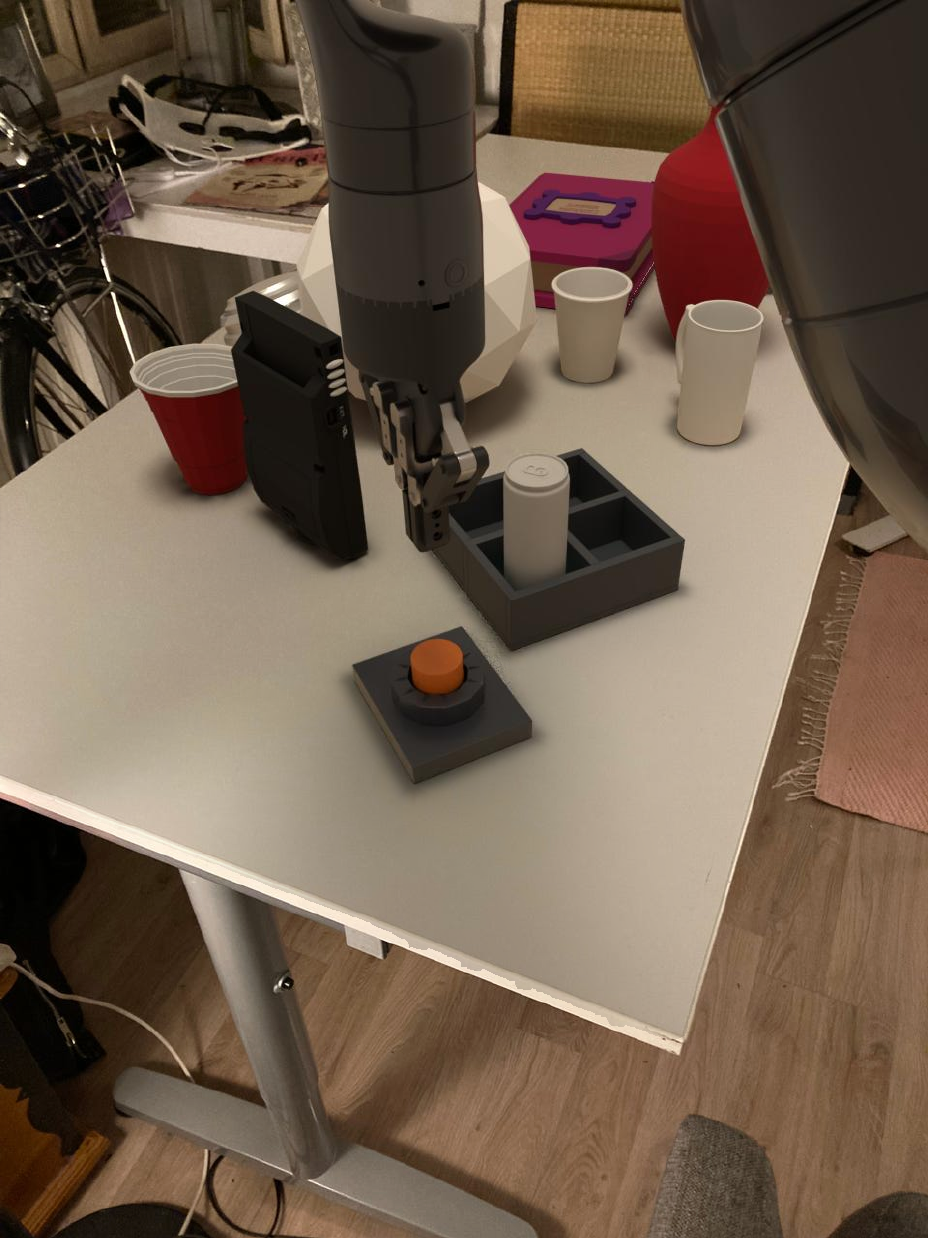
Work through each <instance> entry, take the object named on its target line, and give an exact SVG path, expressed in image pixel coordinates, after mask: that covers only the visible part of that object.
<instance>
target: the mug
mask: <svg viewBox="0 0 928 1238" xmlns="http://www.w3.org/2000/svg"><path fill="white" fill-rule="evenodd" d="M763 322H764V315H763V313H762V312H761V310H759V308H758V309H757V308H755V307H753V306H751V305H748V304H745V303H742V302H737V301H730V300H712V301H705V302H702V303H699V304H697V305H693V304H691V305H687V306H686V311H685V313H684V315H683V317H682V320H681V322H680V325H679V328H678V332H677V338H676V343H675V364H676V365H675V366H676V379H677V383H678V384H679V385H680V390H679V399H678V410H677V420H676V421H677V422H676V428H677V431H678V433H679V434H680V435H681V436H682V438H684V439H685V440H688V441H690V442H692V443H696V444H699V445H705V446H721V445H726V444H729V443H731V442H733V441H735V440H736V439H737V438H739V436H740V434H741V431H742V426H743V422H744V418H745V413H746V410H747V409H746V408H747V405H748V404H747V403H748V399H749V395H750V390H751V389H750V388H751V384H752V378H753V373H754V368H755V364H756V359H757V356H758V355H757V354H758V350H759V346H760V345H759V344H760V339H761V334H762V327H763Z"/></svg>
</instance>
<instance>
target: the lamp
mask: <svg viewBox="0 0 928 1238" xmlns="http://www.w3.org/2000/svg"><path fill="white" fill-rule="evenodd" d="M478 186H479V193H480V199H481V206H482V214H483V245H484V294H485V346H484V349H483V352H482V354H481V355H480V357H479V358H478V359H477V360H476V361H475V362H474V363H473V364H472V365H471V366H470V367H469V368H468V369H467V370H466V371H465V372H464V374H463V375H462V377H461V379H460V384H461V388H462V391H463V393H464V397H465V404H467V403H470V402H471V401H472V400H475V399H477V398H478V397H480V396H482V395H484V394H486V393H488V392H490V391H491V390H494V389H495V388H497V387H499V386H500V385H501V383H502V382H503V380H504V378H505V376H506V375H507V373H508V372H509V370H510V368H511V366H512V365H513V363H514V361H515V359H516V358H517V356H518V354H519V353H520V351H521V349H523V346H524V344H525V343H526V341H527V339H528V337H529V335H530V334H531V332H532V331H533V328H534V327H535V325H536V324H537V322H538V317H537V309H536V307H537V306H535V297H534V288H533V279H532V269H531V260H530V251H529V246H528V244H527V241H526V239H525V237H524V235H523V233H522V231H521V229H520V227H519V225H518V223H517V221H516V219H515V217H514V215H513V213H512V211H511V209H510V207H509V205H510V204H509V203H508V200H507V199H506V197H505V196H504V195H502V194H500V193H499V192H497V191H495V190H493V189H491V188H490V187H488V186H487V185H485V184H483V183H482V182H480V181H478ZM328 207H329V202H327V203H326V205H324V206H323V207H322V208H321V209H320V211H319V214H318V216H317V218H316V221H315V222H314V225H313V226H312V229H311V231H310V233H309V235H308V237H307V239H306V241H305V242H306V243H305V244H304V246H303V249H302V251H301V252H300V255H299V257H298V259H297V261H296V264H295V266H296V270H293V271H290V272H285V273H281V274H277V275H274V276H272V277H269V278H266V279H264V280H261V281H259V282H257V283H255V284H253V285H251V286H248V287H247V288H245V289H243V290H242V291H240V292H239V293H237V294H235V295H233V296H232V297H230V298H229V299H227V301H226V307H225V309H224V313H223V314H222V315H220V318H219V319H220V321H219V322H220V324H219V325H220V327H223V328H224V329H225V331H226V333H225V334H224V335H223V340H224V341H223V342H224V345H225V346H231V347H233V346H234V344H235V343H236V341H237V340H238V338H239V337H240V335H241V334H242V333H241V328H240V323H239V318H238V313H237V308H236V303H235V298H234V297H237V296H240V295H243V294H245V293H248V292H251V291H255V292H258V293H260V294H262V295H264V296H266V297H268V298H270V299H272V300H274V301H276V302H278V303H280V304H282V305H284V306H286V307H287V308H289V309H291V310H293V311H295V312H297V313H299V314H301V315H303V316H305V317H307V318H308V319H310V320H312V321H314V322H316V323H318V324H320V325H322V326H324V327H326V328H328V329H329V330H331V331H333V332H334V333H336V334H337V335H339V336H341V340H342V332H341V323H340V315H339V307H338V299H337V291H336V283H335V274H334V266H333V258H332V250H331V241H330V233H329V218H328ZM342 348H343V340H342ZM343 356H344V364H345V372H346V379H347V387H348V392H349V393H350V394H351V395H353V397H354V398H356V399H359V400H362V401H366V398H365V394H364V391H363V388H362V385H361V383H360V381H359V370H358V369H356V368H355V367H354V366H353V365H352V364H351V363H350V362H349V361H348V359H347V357H346V355H345V353H344V348H343ZM366 402H367V401H366Z"/></svg>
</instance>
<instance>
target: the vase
mask: <svg viewBox="0 0 928 1238" xmlns="http://www.w3.org/2000/svg"><path fill="white" fill-rule="evenodd" d="M710 108H711V109H710V114H709V116H708V119H707V121H706V123H705V125H704V127H703V128H702V129H701V130H700V131H699V133H698V134H696V135H695V136H694V137H692V138H691V139H689V140H688V141H687V142H685V143H683V144H681V145H680V146H679V147H677V148H675V149H673V150H672V151H671V152H670V153H668V155H666V157H665V158H664V159H663V161H661V163H660V164H659V166H658V170H657V172H656V175H655V178H654V181H655V182H654V189H653V196H652V214H651V226H652V247H653V259H654V266H655V268H654V273H655V279H656V284H657V288H658V292H659V296H660V301H661V304H662V307H663V311H664V314H665V315H664V316H665V318H666V321H667V324H668V327H669V330H670V333H671V336H672V340H673V342H674V344H676V338H677V332H678V328H679V325H680V322H681V320H682V317H683V315H684V313H685V311H686V306H687V305H691V304H693V305H697V304H699V303H702V302H705V301H712V300H730V301H737V302H742V303H745V304H748V305H751V306H753V307H755V308H757V309H758V310H759V307H760V305H761V304H762V302H763V300H764V299H765V296H766V294H767V292H768V291H769V288H770V284H769V281H768V278H767V275H766V272H765V269H764V266H763V263H762V260H761V257H760V254H759V251H758V248H757V245H756V242H755V239H754V236H753V234H752V231H751V228H750V225H749V222H748V219H747V216H746V213H745V210H744V207H743V204H742V201H741V198H740V195H739V192H738V189H737V186H736V183H735V180H734V177H733V174H732V171H731V168H730V165H729V162H728V159H727V156H726V153H725V150H724V147H723V144H722V141H721V138H720V135H719V132H718V129H717V126H716V124H715V121H714V120H715V117H716V115H717V113H718V112H719V111H720V110H721V109H717V108H713V107H710Z"/></svg>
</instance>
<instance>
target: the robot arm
mask: <svg viewBox="0 0 928 1238" xmlns="http://www.w3.org/2000/svg"><path fill="white" fill-rule="evenodd" d="M294 3H295V6H296V9H297V13H298V16H299V20H300V22H301V25H302V26H301V27H302V29H303V32H304V36H305V38H306V40H305V41H306V42H307V43H306V44H307V47H308V51H309V55H310V59H311V63H312V64H311V65H312V69H313V73H314V77H315V78H314V79H315V85H316V92H317V99H318V104H319V105H318V106H319V111H320V114H319V115H320V121H321V129H322V137H323V147H324V156H325V164H326V171H327V183H328V203H329V207H328V218H329V233H330V241H331V250H332V258H333V266H334V274H335V283H336V291H337V299H338V307H339V315H340V323H341V332H342V340H343V348H344V353H345V355H346V357H347V359H348V361H349V362H350V363H351V364H352V365H353V366H354V367H355V368H356V369H358V370H359V381H360V383H361V385H362V388H363V391H364V394H365V398H366V404H367V407H368V411H369V414H370V417H371V420H372V423H373V427H374V430H375V434H376V436H377V439H378V443H379V447H380V450H381V453H382V458H383V460H384V462H385V463H386V465H387V466H393V468H394V481H395V483H396V484H397V486H398V488H399V489H400V490H401V494H402V503H403V513H404V516H403V517H404V525H405V535H406V536H407V538H408V539H409V541H410V542H411V543H412V544H413V545H414V547H415V549H417V551H418V552H419V553H426V552H429V551H433V549H436V548H439V547H442V546H445V545H446V544H447V543H448V542H449V540H450V527H449V508H448V506H449V505H452V504H456V503H462V502H465V501H467V499H468V498H469V496H470V495H471V493H472V492H473V490H474V489H475V487H476V486H477V484H478V483H479V481H480V480H481V478H484V475H485V473H486V472H487V470H488V469H489V467H490V464H491V463H490V462H491V461H490V456H489V452H488V450H487V449H486V447H485V446H484V445H480V446H479V445H478V446H476V447H474V446H470V445H469V442H468V439H467V438H466V435H465V432H464V430H463V428H462V427H463V425H464V422H465V421H466V417H467V406H466V403H465V397H464V393H463V391H462V388H461V384H460V379H461V377H462V375H463V374H464V372H465V371H466V370H467V369H468V368H469V367H470V366H471V365H472V364H473V363H474V362H475V361H476V360H477V359H478V358H479V357H480V355H481V354H482V352H483V349H484V346H485V294H484V245H483V214H482V206H481V199H480V193H479V186H478V182H479V179H478V169H477V134H476V133H477V129H476V127H477V125H476V77H475V63H474V55H473V50H472V47H471V44H470V41H469V39H468V37H467V36H466V35H465V33H464V32H463V31H462V30H461V29H460V28H458V27H456V26H455V25H453V24H452V23H449V22H445V21H442V20H439V19H436V18H431V17H427V16H421V15H416V14H410V13H405V12H402V11H401V12H400V11H396V10H393V9H389V8H386V7H384V6H381V5H379V4H375V3H374V2H372V1H371V0H294ZM679 6H680V12H681V17H682V22H683V27H684V31H685V33H686V38H687V40H688V45H689V48H690V51H691V54H692V57H693V61H694V64H695V68H696V71H697V74H698V77H699V80H700V83H701V86H702V89H703V92H704V96H705V99H706V102H707V105H708V106H709V107H710V108H712V107H713V108H717V109H721V110H720V111H719V112H718V113H717V115H716V117H715V120H714V121H715V124H716V126H717V129H718V132H719V135H720V138H721V141H722V144H723V147H724V150H725V153H726V156H727V159H728V162H729V165H730V168H731V171H732V174H733V177H734V180H735V183H736V186H737V189H738V192H739V195H740V198H741V201H742V204H743V207H744V210H745V213H746V216H747V219H748V222H749V225H750V228H751V231H752V234H753V236H754V239H755V242H756V245H757V248H758V251H759V254H760V257H761V260H762V263H763V266H764V269H765V272H766V275H767V278H768V281H769V284H770V286H769V288H770V290H771V292H772V296H773V299H774V302H775V305H776V307H777V311H778V313H779V315H780V317H781V324H782V327H783V330H784V332H785V334H786V339H787V340H788V343H789V346H790V349H791V352H792V355H793V357H794V360H795V362H796V365H797V367H798V369H799V371H800V374H801V376H802V378H803V381H804V383H805V386H806V388H807V390H808V393H809V395H810V398H811V399H812V402H813V404H814V405H815V407H816V409H817V412H818V413H819V415H820V418H821V419H822V422H823V423H824V425H825V427H826V429H827V431H828V432H829V434H830V436H831V437H832V439H833V441H834V442H835V444H836V445H837V447H838V448H839V450H840V452H841V453H842V455H843V456H844V458H845V460H846V461H847V462H848V464H849V465H850V466H851V467H852V468H853V471H855V473H856V474H857V475H858V476H859V478H860V479H861V480H862V481H863V483H864V484H865V485H866V486H867V488H868V490H870V492H871V493H872V494H873V495H874V498H876V500H877V501H878V502H879V503H880V504H881V506H882V507H883V508H884V510H885V511H886V512H887V514H888V515H890V517H891V518H892V520H894V522H896V523H897V525H898V526H899V527H900V528H901V529H902V530H903V532H905V533H906V534H907V535H908V536H909V537H910V538H911V539H912V540H913V542H915V544H916V545H917V546H918V547H919V548H920V549H921V550H922V551H923V552H924V553H925V554H926V555H927V556H928V0H679Z"/></svg>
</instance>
